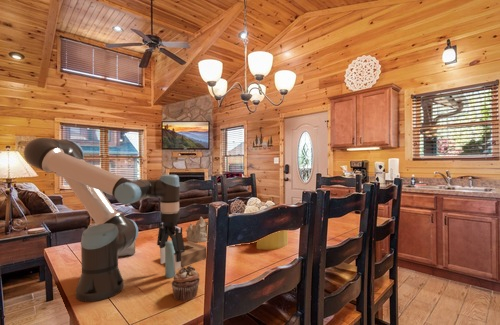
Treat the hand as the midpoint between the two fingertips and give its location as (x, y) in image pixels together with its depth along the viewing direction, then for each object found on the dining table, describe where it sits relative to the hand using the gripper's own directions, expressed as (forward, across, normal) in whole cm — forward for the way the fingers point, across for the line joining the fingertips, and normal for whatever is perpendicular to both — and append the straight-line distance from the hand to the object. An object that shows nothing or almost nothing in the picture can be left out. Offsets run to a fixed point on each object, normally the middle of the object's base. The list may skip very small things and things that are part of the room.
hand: (170, 265), depth 110 cm
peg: (+4, 0, 0) cm, 4 cm away
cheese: (+4, -2, -62) cm, 62 cm away
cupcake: (+4, -18, +5) cm, 19 cm away
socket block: (+4, +12, -16) cm, 20 cm away
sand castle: (+4, +33, -42) cm, 53 cm away
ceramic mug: (+4, +40, +1) cm, 40 cm away
